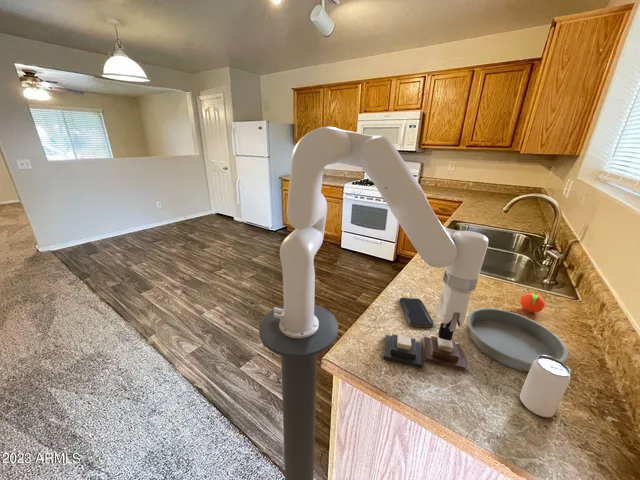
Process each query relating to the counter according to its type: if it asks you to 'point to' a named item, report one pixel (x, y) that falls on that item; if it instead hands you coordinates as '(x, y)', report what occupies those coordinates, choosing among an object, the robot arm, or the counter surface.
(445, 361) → the keypad
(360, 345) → the counter surface
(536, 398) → the can
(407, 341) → the key
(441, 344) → the key
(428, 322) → the phone
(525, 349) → the cake pan
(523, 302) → the tomato
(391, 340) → the keypad
